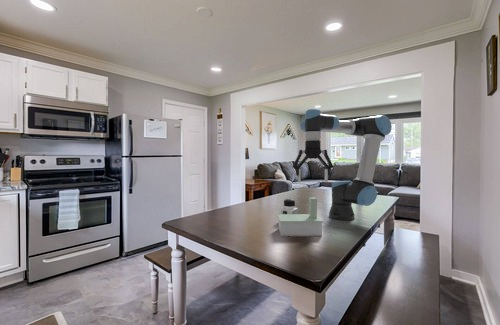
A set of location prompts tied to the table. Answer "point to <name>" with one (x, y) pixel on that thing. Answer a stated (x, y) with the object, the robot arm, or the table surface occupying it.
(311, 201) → the green base with post
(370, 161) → the robot arm
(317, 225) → the tub
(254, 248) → the table surface
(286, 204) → the container
